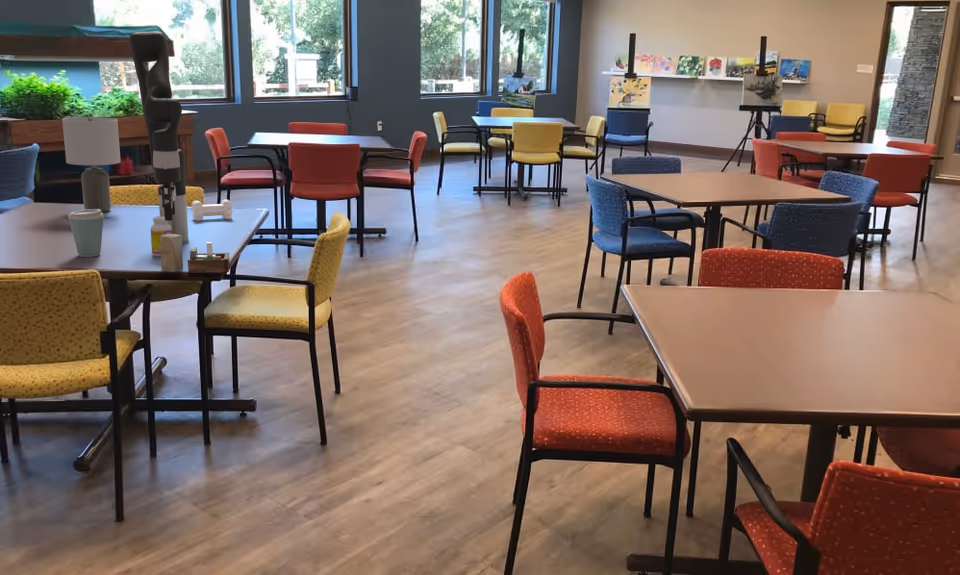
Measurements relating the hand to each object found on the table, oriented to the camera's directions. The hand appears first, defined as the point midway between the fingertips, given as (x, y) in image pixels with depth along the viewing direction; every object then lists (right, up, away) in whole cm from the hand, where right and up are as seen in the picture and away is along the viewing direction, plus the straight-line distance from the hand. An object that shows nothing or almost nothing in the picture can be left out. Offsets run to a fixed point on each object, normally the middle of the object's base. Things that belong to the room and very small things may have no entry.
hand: (170, 217), depth 248 cm
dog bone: (-15, +6, +83) cm, 85 cm away
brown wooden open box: (+10, -16, +7) cm, 20 cm away
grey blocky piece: (+8, -15, +7) cm, 19 cm away
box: (-1, -16, +4) cm, 17 cm away
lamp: (-65, +10, +89) cm, 111 cm away
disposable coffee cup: (-34, -11, +18) cm, 39 cm away
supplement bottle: (-11, -11, +22) cm, 27 cm away
